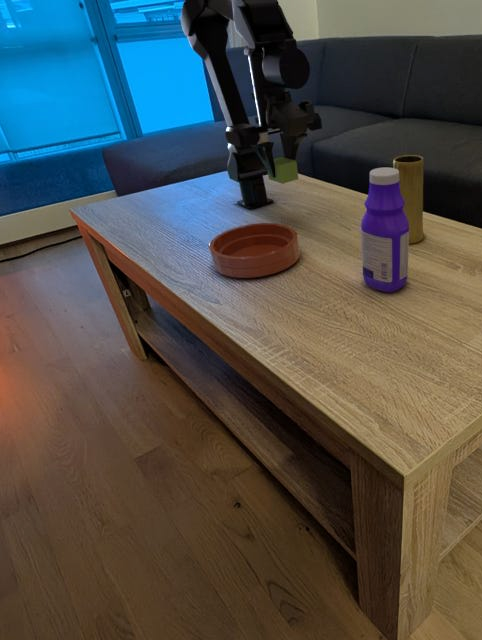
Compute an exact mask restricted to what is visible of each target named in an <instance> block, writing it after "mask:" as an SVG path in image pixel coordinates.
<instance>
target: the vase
mask: <svg viewBox="0 0 482 640" xmlns="http://www.w3.org/2000/svg"><path fill="white" fill-rule="evenodd" d="M424 163H425V159H424V157H423V156H421V155H418V154H417V155H416V154H405V155H398V156H396V157H394V158H393V162H392V166H393V167H392V168H395V169H397V170H399V186H400V192H401V195H402V198H403V199H404V201H405V205H404V207H403V211H404V213H405V215H406V217H407V219H408V223H409V245H410V244H416V243H419V242H421V241H422V240H423V239H424V228H423V227H424V223H423V221H424V216H423V215H424V168H425V167H424Z"/></svg>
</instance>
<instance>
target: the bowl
mask: <svg viewBox="0 0 482 640" xmlns="http://www.w3.org/2000/svg"><path fill="white" fill-rule="evenodd" d="M298 234H299V233H298V232H297V231H296V230H295V229H294V227H292V226H291V227H290V226H289V225H286V224H280V223H276V222H275V223H272V222H271V223H270V222H260V223H251V224H246V225H241V226H236V227H234V228H231V229H228V230H225V231H223V232H221V233H219V234H217V235H216V236H215V237H214V238H213V239H211V241H210V242H209V245H208V250H209V254H210V257H211V261H212V264H213V267H214V269H215V272H218V273H219V274H221V275H223V276H226V277H231V278H238V279H239V278H240V279H243V278H244V279H251V278H259V277H264V276H269V275H273V274H276V273H279V272H282V271H284V270H286V269H288V268H290V267H291V266H293V265H294V264H295V263H296V262H297V261H298V260H299V258H300V256H301V249H300V243H299V235H298Z"/></svg>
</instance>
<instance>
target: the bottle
mask: <svg viewBox="0 0 482 640" xmlns="http://www.w3.org/2000/svg"><path fill="white" fill-rule="evenodd" d="M363 204H364V207H365V209H366V211H365V212H364V214H363V216H362V219H361V223H360V235H361V236H360V237H361V258H362V259H361V261H362V262H361V263H362V277H363V280H364V283H365V284H366V285H367V286H369V287H370V288H372V289H375V290H377V291H381V292H385V293H393V292H394V293H395V292H397V291H398V290H400V289H401V288H403V287H404V286H405V284H406V283H407V281H408V277H409V248H410V247H409V245H410V244H409V223H408V219H407V217H406V215H405V213H404V211H403V207H404V205H405V201H404V199H403V198H402V195H401V192H400V186H399V170H397V169H395V168H393V167H387V166H386V167H385V166H384V167H377V168H373V169H371V170H370V171H369V188H368V194H367V197H366V199H365V201H364V203H363Z"/></svg>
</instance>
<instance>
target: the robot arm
mask: <svg viewBox="0 0 482 640" xmlns="http://www.w3.org/2000/svg"><path fill="white" fill-rule="evenodd" d="M230 21H231V22H232V23H233V25H234V30H235V32H236V33H237V34H238V35H239V36H240V37H241V38H242V39H243V41H244V42H245V44H246V46H245V47H244V49H243V54H244V56H247V57H248V63H249V71H250V75H251V81H252V87H253V91H252V92H250V97H251V100H255V106H256V112H257V116H256V117H254V121H255V124H256V125H253V124H251V123H250V119H249V117H248V114H247V111H246V108H245V105H244V101H243V99H242V96H241V94H240V93H241V92H240V90H239V86H238V84H237V81H236V79H235V76H234V72H233V69H232V66H231V64H230V60H229V58H228V55H227V47H228V40H229V34H228V28H229V24H230ZM180 24H181V29H182V32H183V34H184V36H186V37H187V40H188V43H189V45H190V47H191V50H192V51H194V52H195V54H196V55H198V57H200V59H202V60H203V61H204V63H205V66H206V69H207V72H208V74H209V75H208V76H209V77H210V80H211V83H212V86H213V89H214V91H215V94H216V97H217V100H218V103H219V106H220V109H221V111H222V115H223V118H224V120H225V123H226V126H227V127H226V130H225V132H224V136H225V139H226V144H228V145H227V150H228V152H229V155H228V156H229V157H228V161H227V166H226V172H227V174H228V177H229V179H230V180H231V181H234V182H236V183H238V185H239V190H240V194H241V195H240V196H241V200H238V201H236V204H237V205H240V206H242V207H244V208H246V209H249V210H253V209H256V208H260V207H262V206H265V205H268V204H272V203H274V199H272V198H269V197H268V195H267V190H266V189H267V188H266V184H265V180H264V176H268V172H269V174H270V175H271V177H273V178H275V177H276V176H275V165H274V160H273V159H274V155H273V148H274V145H275V143H274V141H270V139H269V136H271V135H274V134H278V133H279V137H280V142H281V147H282V150H283V155H284V156H283V157H284V158H288V159H291V160H295V161H296V158H297V153H298V149H299V146H300V143H301V142H302V141H303V139H304V138H307V137H308V133H307V132H308V131H309V132H313V131H318V130H322V129H323V123H322V122H323V121H322V118H321V116H320V113H318V112H316V111H315V106H314V102H312V101H311V100H310V99H307V100H301V101H300V103H299V102H298V103H297V102H296V103H295V102H294V101H293V98H292V94H291V91H290V90H286V89H291V90H299V89H301V88H303V87H304V86H306V84H307V83H308V81H309V78H310V74H311V65H310V62H309V60H308V58H307V56H306V54H305V53H304V52H303V50H301V49H300V48H298V43H297V39H296V38H295V37H294V31H293V30H292V29H293V28H291V25H290V24H289V23H288V19H287V18H286V15H285V13H284V10H283V8H282V7H281V5H280V4H279V1H278V0H185V1H183V4H182V7H181V13H180ZM267 170H268V171H267Z"/></svg>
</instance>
